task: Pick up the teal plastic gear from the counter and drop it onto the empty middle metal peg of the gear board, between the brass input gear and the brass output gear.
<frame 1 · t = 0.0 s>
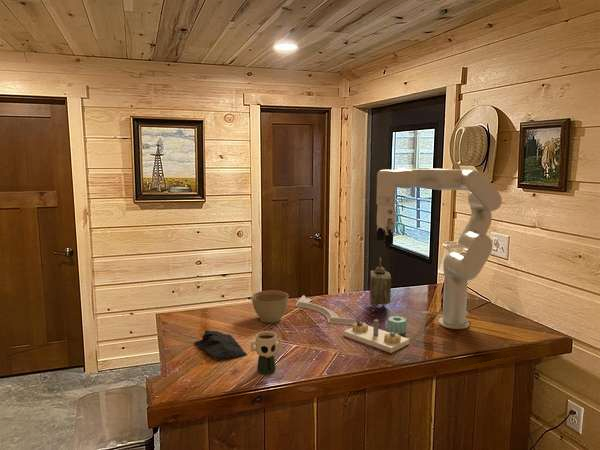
hand: (384, 242, 193), 37 cm above the countertop, tool pointing down, fingers open, 9 cm apart
character mug: (266, 371, 161), on the countertop
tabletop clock: (379, 309, 224), on the countertop
gear board: (375, 339, 188), on the countertop
planter bowl: (270, 319, 210), on the countertop
loose gear: (396, 330, 197), on the countertop
dark slate chunk: (220, 350, 180), on the countertop
molding: (324, 312, 221), on the countertop
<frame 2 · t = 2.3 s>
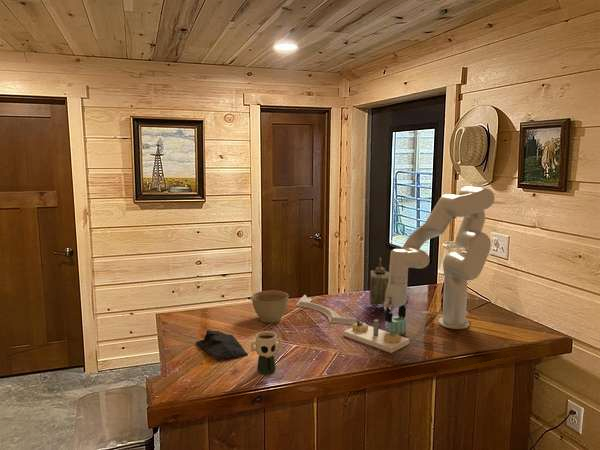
hand: (395, 319, 196), 5 cm above the countertop, tool pointing down, fingers open, 9 cm apart
loose gear: (396, 330, 197), on the countertop, touching gripper
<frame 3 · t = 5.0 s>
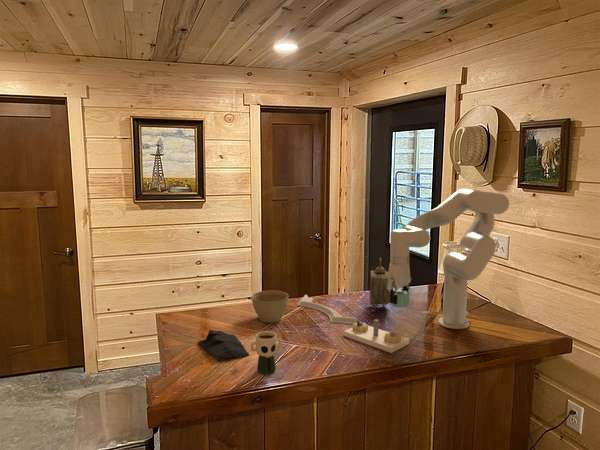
hand: (399, 300, 195), 13 cm above the countertop, tool pointing down, fingers closed on loose gear, 7 cm apart
loose gear: (400, 304, 195), point 11 cm above the countertop, touching gripper
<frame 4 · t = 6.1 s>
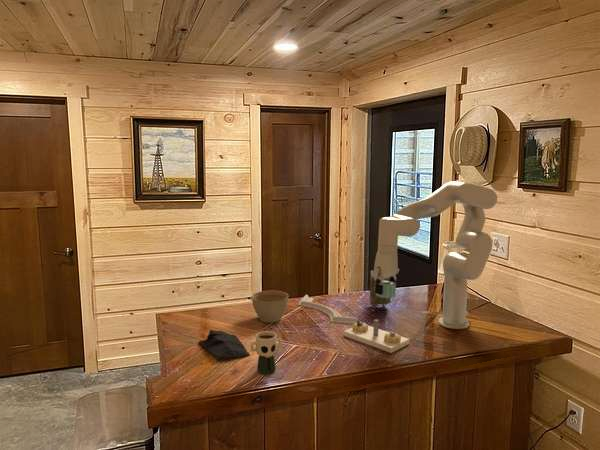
hand: (385, 291, 189), 19 cm above the countertop, tool pointing down, fingers closed on loose gear, 7 cm apart
loose gear: (385, 295, 189), point 17 cm above the countertop, touching gripper
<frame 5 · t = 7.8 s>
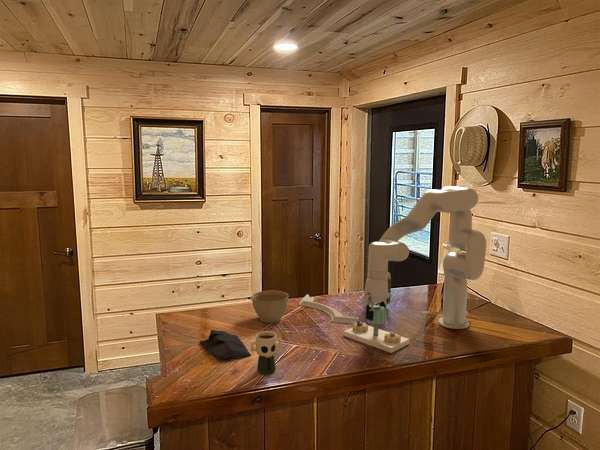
hand: (375, 317, 186), 9 cm above the countertop, tool pointing down, fingers closed on loose gear, 7 cm apart
loose gear: (376, 320, 186), point 8 cm above the countertop, touching gripper
when the fingers open (5 cm above the countertop, at t = 9.2 s): loose gear drops 2 cm, resting on gear board.
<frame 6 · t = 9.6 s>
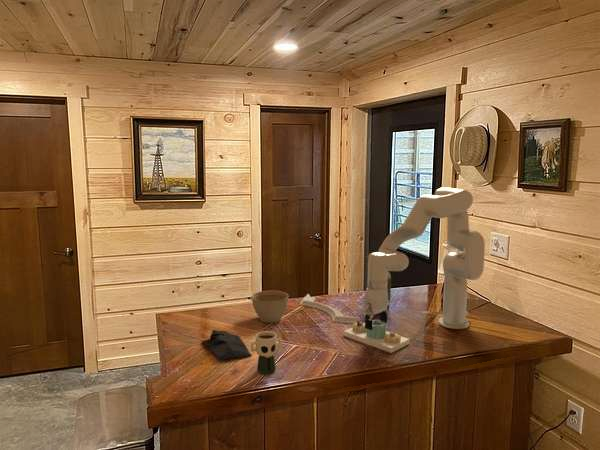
hand: (376, 325, 187), 6 cm above the countertop, tool pointing down, fingers open, 9 cm apart
loose gear: (376, 335, 187), point 2 cm above the countertop, touching gear board
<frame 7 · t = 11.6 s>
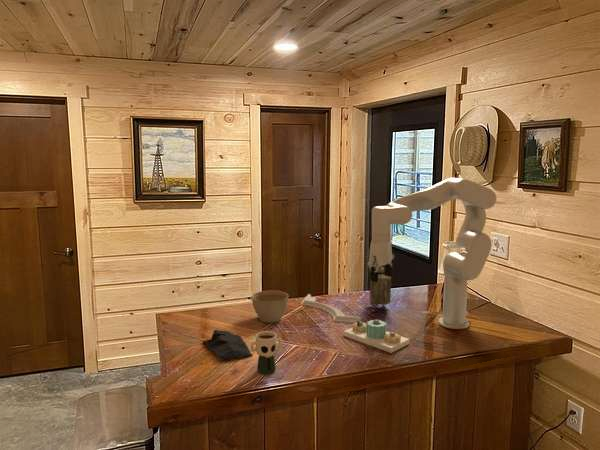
hand: (381, 278, 191), 23 cm above the countertop, tool pointing down, fingers open, 9 cm apart
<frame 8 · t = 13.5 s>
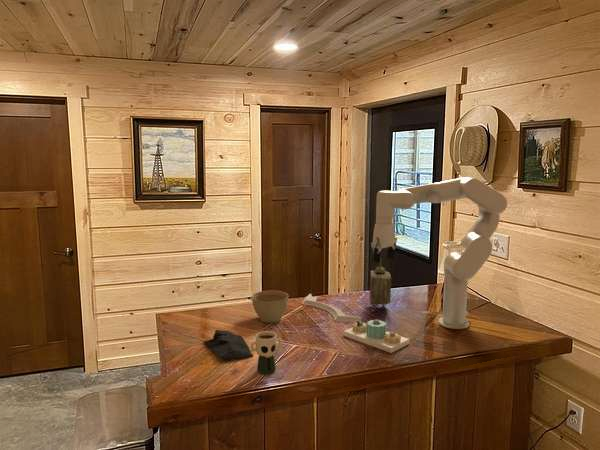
hand: (383, 260, 200), 28 cm above the countertop, tool pointing down, fingers open, 9 cm apart
at the end: loose gear 0.4 cm off-centre on the gear board, point 2.0 cm above the gear board's base; loose gear tilted 0°; the gripper is holding nothing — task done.
